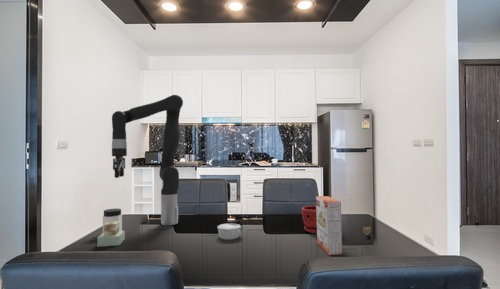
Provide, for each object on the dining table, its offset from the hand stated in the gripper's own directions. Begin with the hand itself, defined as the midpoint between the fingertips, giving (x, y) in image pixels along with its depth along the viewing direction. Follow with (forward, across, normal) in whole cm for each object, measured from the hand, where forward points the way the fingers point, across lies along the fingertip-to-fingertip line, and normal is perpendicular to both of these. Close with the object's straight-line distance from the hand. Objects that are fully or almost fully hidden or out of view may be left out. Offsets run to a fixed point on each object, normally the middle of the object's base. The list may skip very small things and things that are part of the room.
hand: (119, 177), depth 155 cm
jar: (+28, -10, +1) cm, 30 cm away
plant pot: (+28, -27, -102) cm, 109 cm away
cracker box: (+28, -54, -97) cm, 115 cm away
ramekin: (+28, -28, -58) cm, 70 cm away
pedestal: (+28, -26, -4) cm, 38 cm away
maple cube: (+24, -26, -4) cm, 36 cm away
